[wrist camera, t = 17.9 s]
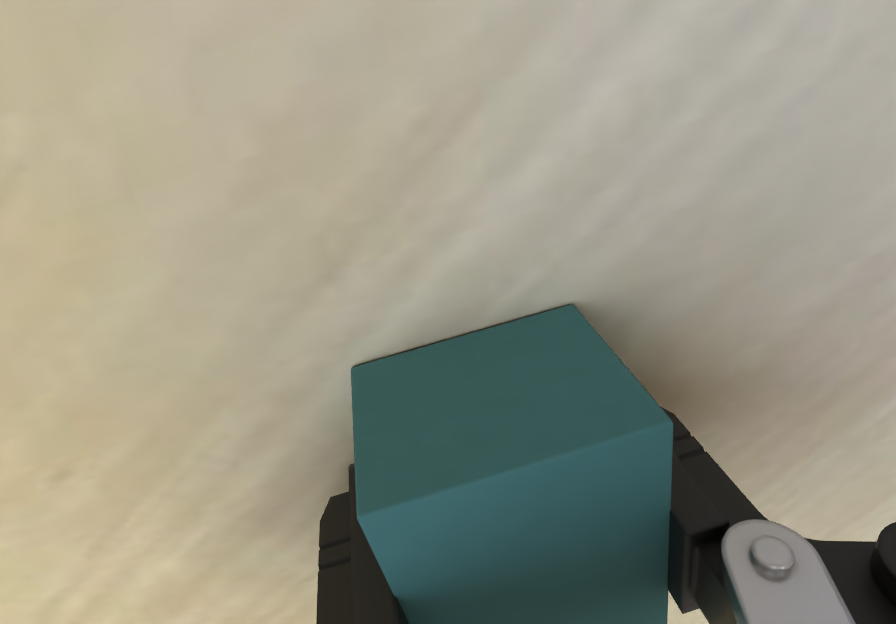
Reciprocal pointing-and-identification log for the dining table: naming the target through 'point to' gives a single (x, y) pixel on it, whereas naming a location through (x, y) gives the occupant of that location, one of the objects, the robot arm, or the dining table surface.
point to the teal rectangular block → (515, 478)
